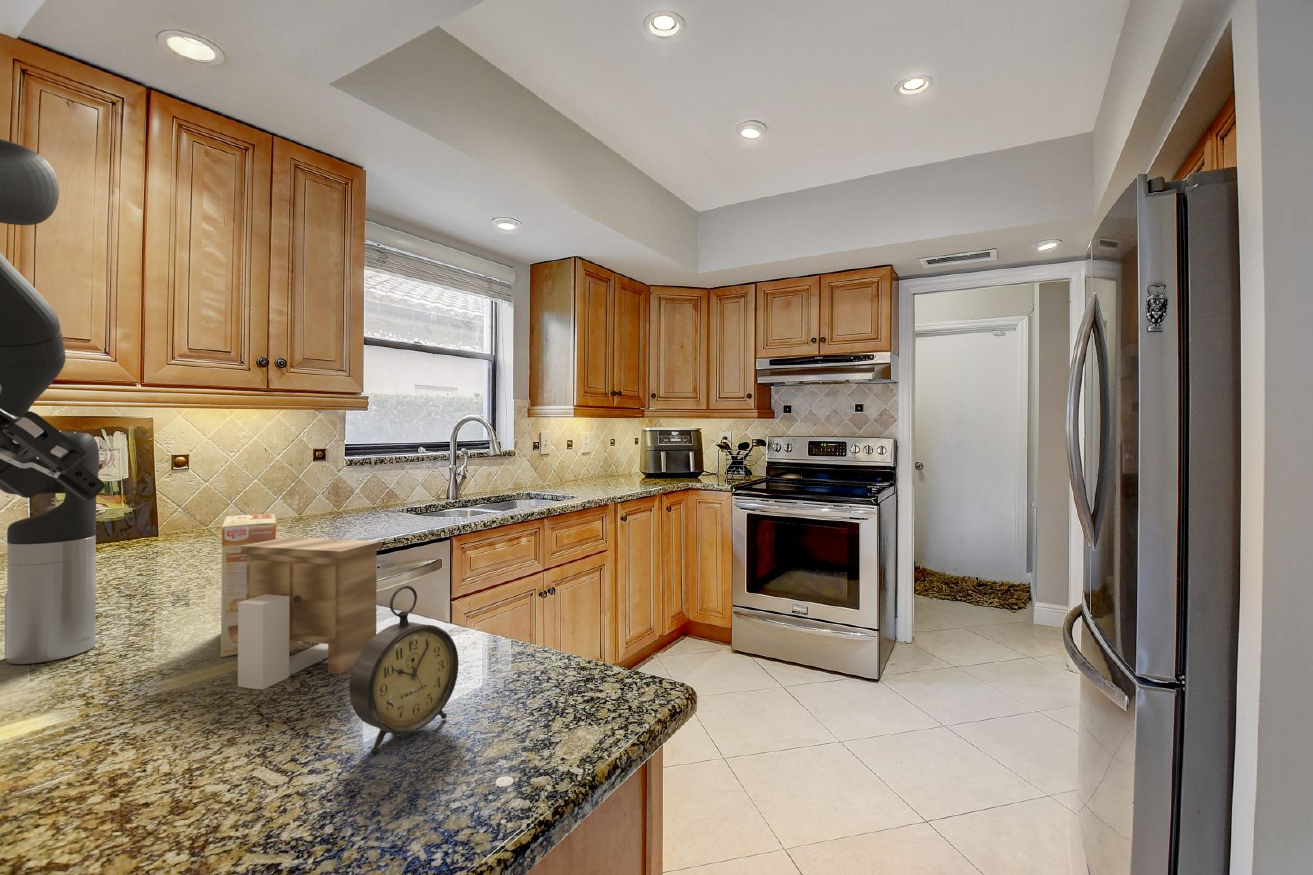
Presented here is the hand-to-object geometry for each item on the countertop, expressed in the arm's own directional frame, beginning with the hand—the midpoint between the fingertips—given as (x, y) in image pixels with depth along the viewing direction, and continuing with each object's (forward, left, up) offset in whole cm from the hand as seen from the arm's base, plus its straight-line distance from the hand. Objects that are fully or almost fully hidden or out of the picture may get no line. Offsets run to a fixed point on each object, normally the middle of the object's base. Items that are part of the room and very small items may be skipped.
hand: (66, 492), depth 61 cm
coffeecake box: (-11, +31, -27) cm, 42 cm away
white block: (+6, +23, -27) cm, 36 cm away
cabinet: (+6, +26, -27) cm, 38 cm away
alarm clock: (+33, +11, -27) cm, 44 cm away
